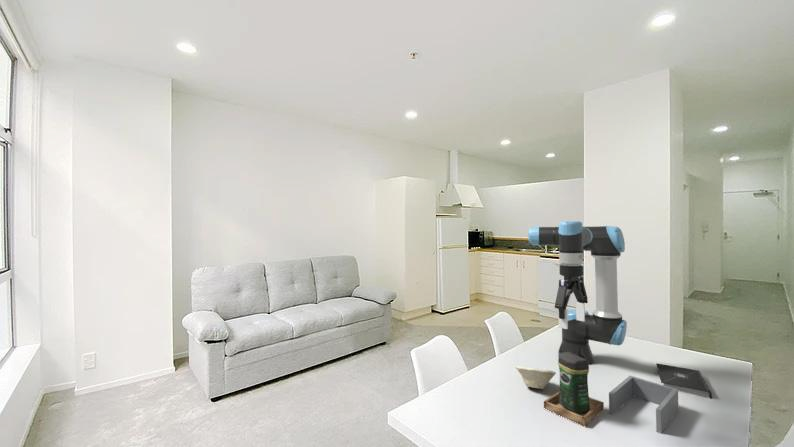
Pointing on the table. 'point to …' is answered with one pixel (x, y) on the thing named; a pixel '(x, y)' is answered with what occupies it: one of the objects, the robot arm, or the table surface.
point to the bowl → (535, 376)
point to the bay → (646, 398)
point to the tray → (582, 419)
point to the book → (683, 380)
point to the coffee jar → (573, 383)
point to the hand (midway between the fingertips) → (572, 324)
